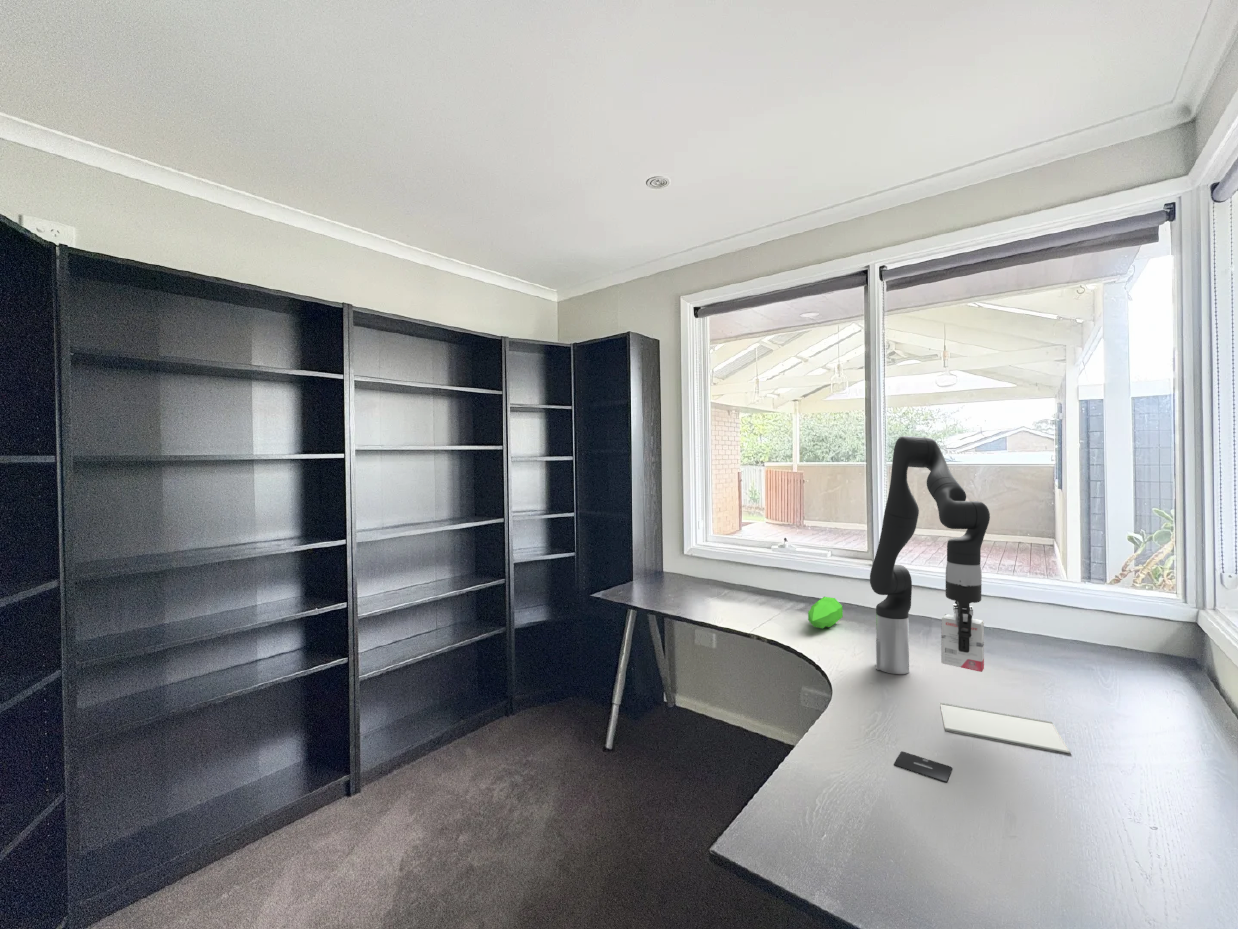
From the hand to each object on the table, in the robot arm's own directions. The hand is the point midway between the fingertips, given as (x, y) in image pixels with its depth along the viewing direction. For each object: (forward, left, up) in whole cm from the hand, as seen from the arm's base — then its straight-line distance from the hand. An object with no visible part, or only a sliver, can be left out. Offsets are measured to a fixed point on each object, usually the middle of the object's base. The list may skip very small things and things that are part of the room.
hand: (962, 647), depth 131 cm
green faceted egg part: (-41, +70, -20) cm, 83 cm away
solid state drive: (-10, -25, -20) cm, 34 cm away
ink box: (0, 0, -5) cm, 5 cm away
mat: (+8, +3, -20) cm, 21 cm away
